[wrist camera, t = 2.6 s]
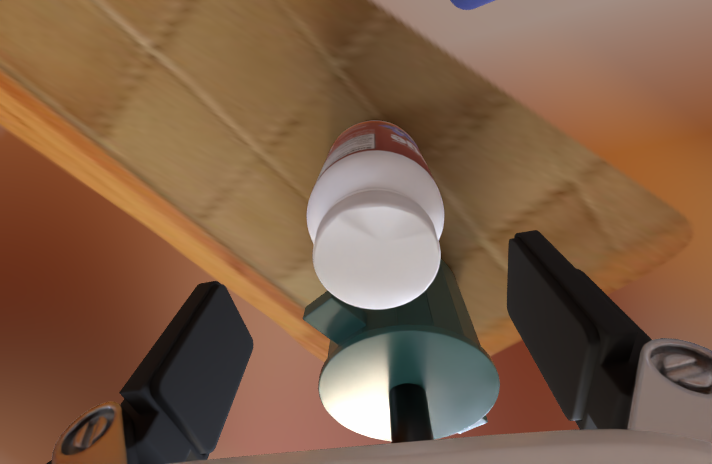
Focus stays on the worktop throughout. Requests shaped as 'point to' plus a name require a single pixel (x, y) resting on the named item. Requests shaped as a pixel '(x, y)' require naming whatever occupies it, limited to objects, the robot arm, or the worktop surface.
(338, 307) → the pot
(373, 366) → the pot lid
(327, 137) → the worktop surface
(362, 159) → the pill bottle
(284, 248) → the worktop surface
